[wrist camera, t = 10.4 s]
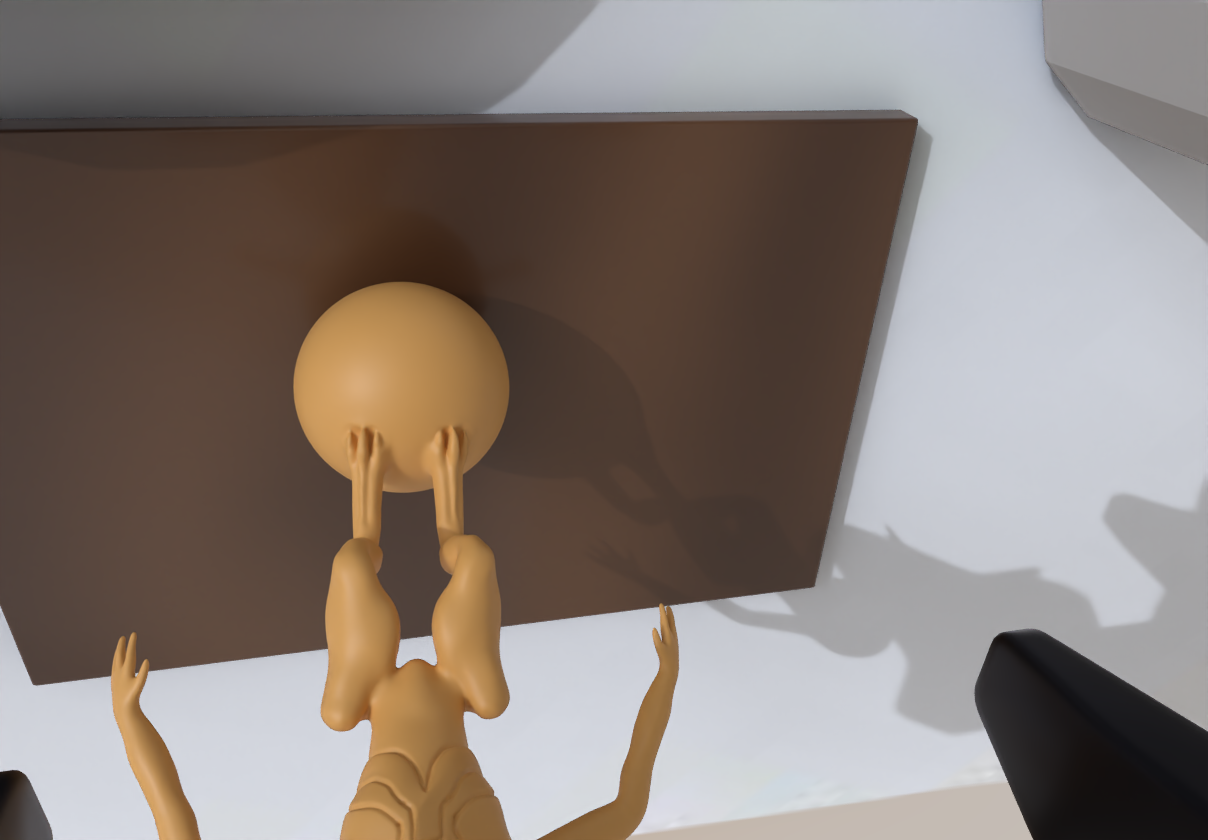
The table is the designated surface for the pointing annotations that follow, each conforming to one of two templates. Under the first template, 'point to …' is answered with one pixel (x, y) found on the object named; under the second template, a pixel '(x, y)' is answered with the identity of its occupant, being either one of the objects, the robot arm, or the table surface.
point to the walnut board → (488, 285)
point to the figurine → (366, 612)
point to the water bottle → (1135, 66)
